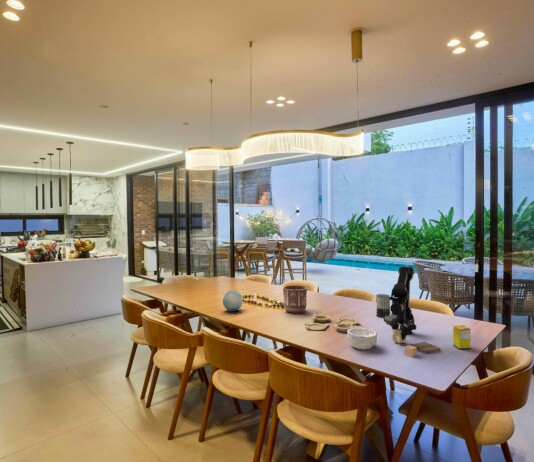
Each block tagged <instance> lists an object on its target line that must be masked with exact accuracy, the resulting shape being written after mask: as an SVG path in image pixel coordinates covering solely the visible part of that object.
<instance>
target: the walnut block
mask: <svg viewBox="0 0 534 462" xmlns="http://www.w3.org/2000/svg"><path fill="white" fill-rule="evenodd" d="M410 346H414V347H417V351H418V352H421V353H422V354H425V355H427V354H431V353H437V352H441V347H440V346H439V347H438V346H436V345H434V344H432V343H429V342H426V341H421V342H416V343H410Z"/></svg>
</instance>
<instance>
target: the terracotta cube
mask: <svg viewBox="0 0 534 462" xmlns="http://www.w3.org/2000/svg"><path fill="white" fill-rule="evenodd" d="M417 351H418V350H417V347H414V346H411V344H408V345H406V346H404V355H405V356H408V357H411V358H414V357H416V356H417Z"/></svg>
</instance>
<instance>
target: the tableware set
mask: <svg viewBox="0 0 534 462" xmlns="http://www.w3.org/2000/svg"><path fill="white" fill-rule="evenodd" d="M311 319H312V320H315V321H316V322H315V323H314V322H313V323H311V322H304V323H303V324H304V325H305V327H304V328H305V329H307V330H310V331H322V330H326V329H327V327H329V326H330V323H327V321H328V320H330V319H331V316H329V315H325V314H317V313H316V312H314V313H313V316H311ZM322 323H325V324H322ZM357 324H358V325H359V324H361V322H360V321H358V320H357V319H356V317H352V318H344V317H343V318H341V317H338V318H337V319H336V321H335V324H334V325H333V326H334V328H335V329H337V330H338V331H339V332H341V333H347V331H348V330H349V329H352V328H355V327H354V326H355V325H357Z"/></svg>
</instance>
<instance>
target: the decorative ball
mask: <svg viewBox="0 0 534 462" xmlns="http://www.w3.org/2000/svg"><path fill="white" fill-rule="evenodd" d="M243 302H244V300H243V296H242V294H241V293H239V292H238V291H236V290H235V291H234V290H231V291H227V292H226V293H225V294H224V296H223V298H222V305H223V307H224V308H225V310H227V311H229V312H237V311H238V310H240V309H241V307H242V306H243Z"/></svg>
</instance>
